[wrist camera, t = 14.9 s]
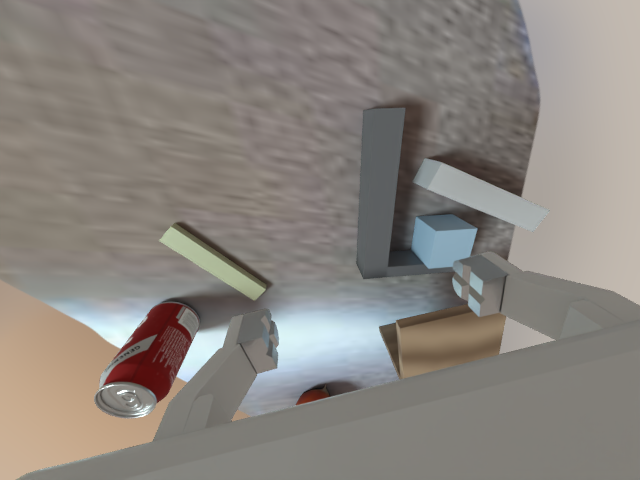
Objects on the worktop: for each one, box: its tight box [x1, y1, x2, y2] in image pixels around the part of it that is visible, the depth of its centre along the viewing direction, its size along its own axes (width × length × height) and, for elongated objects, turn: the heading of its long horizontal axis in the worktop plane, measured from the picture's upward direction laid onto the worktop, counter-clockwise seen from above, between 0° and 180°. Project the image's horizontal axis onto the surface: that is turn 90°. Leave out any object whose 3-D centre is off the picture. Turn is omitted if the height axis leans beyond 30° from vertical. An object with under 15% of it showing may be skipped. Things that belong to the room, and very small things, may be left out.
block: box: [411, 214, 478, 269], centre depth 31 cm, size 5×5×5 cm
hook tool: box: [356, 108, 455, 279], centre depth 29 cm, size 19×13×4 cm
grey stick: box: [413, 158, 550, 232], centre depth 30 cm, size 16×3×4 cm, turn 69°
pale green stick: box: [160, 223, 267, 301], centre depth 32 cm, size 14×2×2 cm, turn 45°
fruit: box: [296, 384, 331, 405], centre depth 44 cm, size 8×8×8 cm
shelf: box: [379, 304, 506, 379], centre depth 33 cm, size 12×12×10 cm
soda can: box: [94, 302, 200, 418], centre depth 30 cm, size 7×7×12 cm
